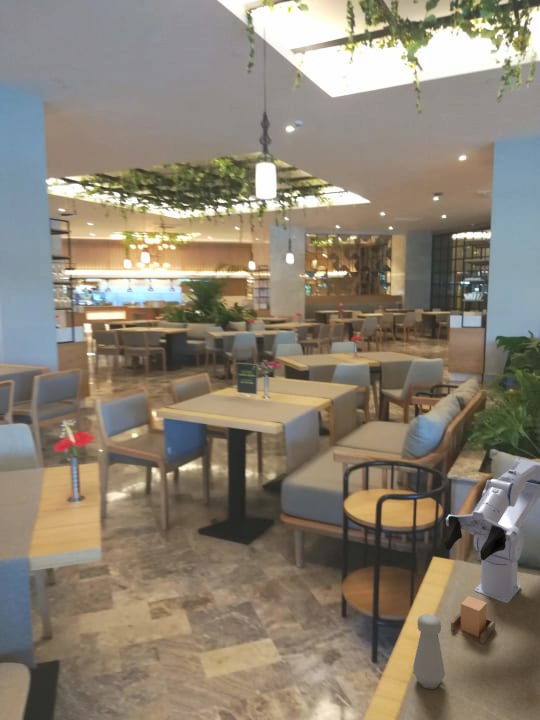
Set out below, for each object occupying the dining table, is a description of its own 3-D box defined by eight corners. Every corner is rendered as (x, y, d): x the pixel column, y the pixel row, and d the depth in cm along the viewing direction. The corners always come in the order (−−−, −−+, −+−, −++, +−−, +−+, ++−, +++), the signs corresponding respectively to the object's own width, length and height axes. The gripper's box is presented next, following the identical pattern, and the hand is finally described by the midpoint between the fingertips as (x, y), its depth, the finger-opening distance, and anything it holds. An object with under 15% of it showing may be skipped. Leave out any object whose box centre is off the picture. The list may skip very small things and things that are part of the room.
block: (468, 620, 119) (468, 595, 118) (486, 628, 116) (486, 602, 116) (460, 629, 116) (460, 603, 116) (478, 637, 114) (479, 611, 113)
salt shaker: (446, 694, 98) (447, 629, 97) (414, 690, 100) (414, 626, 98) (442, 672, 104) (443, 610, 102) (412, 669, 105) (412, 608, 104)
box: (463, 617, 121) (463, 608, 121) (494, 630, 116) (494, 621, 116) (450, 631, 116) (450, 622, 116) (482, 645, 112) (482, 635, 111)
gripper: (454, 493, 127) (429, 527, 117) (518, 506, 117) (496, 545, 108) (458, 517, 129) (434, 552, 120) (521, 533, 119) (500, 572, 110)
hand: (464, 551), depth 114 cm, fingers open, 7 cm apart
